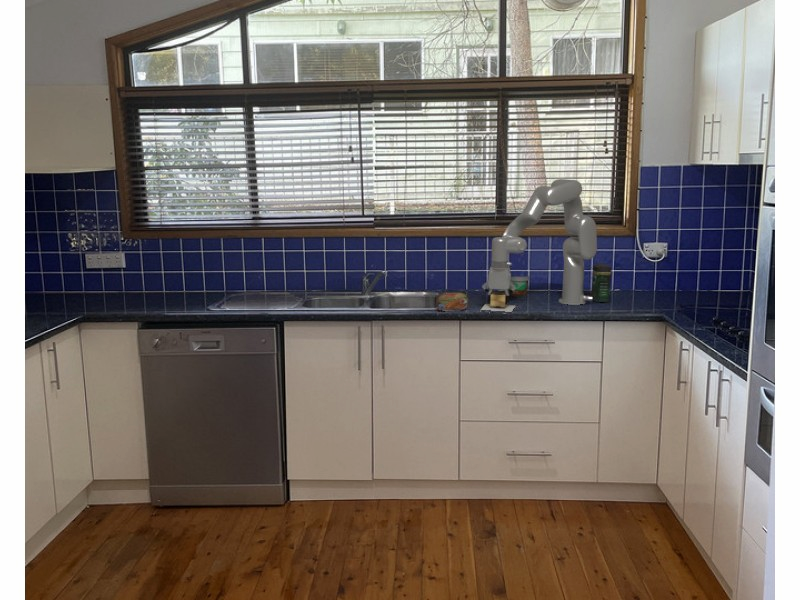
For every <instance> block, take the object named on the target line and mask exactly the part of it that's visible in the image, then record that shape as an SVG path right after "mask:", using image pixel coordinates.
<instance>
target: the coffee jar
mask: <svg viewBox="0 0 800 600" xmlns="http://www.w3.org/2000/svg"><path fill="white" fill-rule="evenodd" d="M611 277H612V267H611V266H610V265H608V264H605V263H603V262H599V263H595V264H593V266H592V281H591V282H592V284H591V295H590V296H592V300H591V301H592V302H595V303H600V302H605V303H609V302H610V293H611V292H610V291H611V290H610V289H611Z"/></svg>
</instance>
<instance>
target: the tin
mask: <svg viewBox="0 0 800 600" xmlns="http://www.w3.org/2000/svg"><path fill="white" fill-rule="evenodd" d="M469 302H470V301H469V297H468V296H467V294H465V293H464V292H460V291H459V292H443V293H441V294H439V295H437V298H436V301H435V304H436V307H437V309H438V310H440V311H441V310H452V309H464V310H465V309H467V307H468V305H469Z"/></svg>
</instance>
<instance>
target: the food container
mask: <svg viewBox="0 0 800 600" xmlns="http://www.w3.org/2000/svg"><path fill="white" fill-rule="evenodd" d="M530 278H531V277H530V275H527V276H519V275H515V276H511V282H512V283H513V284H514V285H515V286H516V289H515V290H514V291H513V292H512V293H511V294H510V295H509V297H510V296H512V297H524V296H527V293H528V284H529V281H530V280H531V279H530ZM511 289H512V287H510V288H509V289H508V290H509V291H510V290H511Z"/></svg>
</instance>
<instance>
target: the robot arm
mask: <svg viewBox="0 0 800 600" xmlns="http://www.w3.org/2000/svg"><path fill="white" fill-rule="evenodd" d="M582 192H583V186H582V183H581V182H580V181H578V180H576V179H567V178H566V179H565V178H564V179H562V178H560V179H559V178H558V179H555V180H553V181H552V182H551V184H550V185H549V186H546V185H540V186H538V187H536V188H535V189H534V190H533V193H532V194H531V196H530V198H529V200H528V202H526V203H527V204H526V205H525V207H524V209H523V210H522V212H521V213H520V214H519V215H518V216H516V218H515V219H513V220H512V221H511V222H510V223H509V225H507V227H506V229H505V230H504V232H503V234H502V236H499V237H498V236H496V237H493V238H492V239H491V240H492V241H491V266H490V267H489V271H488V277H487V281H486V282H485V283H483V284H482V285H481V288H482V289H483V290H484V291H485V293H487V295H488V302H489V304H490V303H491V294H492V293H493V292H494V291H493V290H498V291H504V293H506V298H505V304H506V305H508V303H509V302H510V294H511V293H512V292H513V291H514V290H515V289H516V286H515V285H514V284H513V283H512V282H511V266H512V262H510V261H509V255H510V254H521V253H524V252H526V250H527V247H528V243H527V241H526V239H525V238H523V237H520V235H521V233H522V232H523V231H524V230H526V229H528V228H530V227H532V226H535V225H536V224H538V223H539V221H540V219H541V218H542V216H543V214H544V212H545V211H546V209H547V208H548V206H551V207H553V206H559V205H562V206H563V217H564V220H563V221H564V230H565V232H566V233H567V234H570V235H573V236H571V237H568V238H566V239H565V240H564V241H563V244H562V254H563V255H562V256H563V273H562V274H563V275H562V276H563V277H562V294H561V296H562V297H560V298H559V299H558V303H560V304H563V305H567V304H568V305H567V306H581V305H580V304H583V305H585V304H587V302H586V301H593V300H592V296H591V295H584V279H585V263H584V262H585V261H584V260H587V261H589V260H592V259H593V258H594V257H595V256H596V253H597V251H598V250H597V249H598V240H597V239H598V238H597V235H598V234H597V225H596V221H595V220H594V219H593V218H592V217H591V216H589V215H585V214H584V212H583V210H584V208H583V202H582V199H581V198H582V197H580V195H581V194H582ZM576 236H577V237H576ZM510 287H512V289H511V290H510V291H509V290H508V289H509V288H510Z"/></svg>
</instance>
